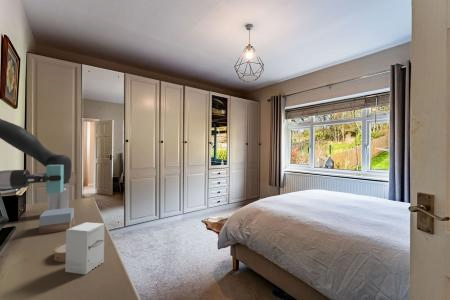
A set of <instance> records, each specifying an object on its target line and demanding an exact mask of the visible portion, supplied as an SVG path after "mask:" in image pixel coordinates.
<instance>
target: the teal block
mask: <svg viewBox="0 0 450 300" xmlns="http://www.w3.org/2000/svg"><path fill="white" fill-rule="evenodd" d="M45 168H46V169H45V170H46V171H45V173H46V176H47V175H49V176H58V175H60V176H61V180H60V181H49V182H45V185H46V186H45V187H46V188H45V189H46V190H45V193H46V194H47V195H48V194H51V193H61V192H63V182H64V165H48V166H46V167H45Z"/></svg>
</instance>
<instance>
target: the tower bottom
mask: <svg viewBox="0 0 450 300" xmlns="http://www.w3.org/2000/svg"><path fill="white" fill-rule="evenodd" d="M75 223H76V215H74V216H73V218H72V221H71V222H67V223H59V224H51V225H43V226H39V225H38V234H39V235H40V234H46V233H49V234H50V233H57V232H65V231H66V230H67V229H70V228H72V227H74V226H75Z"/></svg>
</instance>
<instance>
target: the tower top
mask: <svg viewBox="0 0 450 300" xmlns="http://www.w3.org/2000/svg"><path fill="white" fill-rule="evenodd" d="M73 216H75V207H69V208H65V209H54V210H48V209H47V210H45V211H43V212H42V214H41V215H40V216H39V225H38V227H39V226H43V225H51V224H59V223H67V222H71V221H72V218H73Z"/></svg>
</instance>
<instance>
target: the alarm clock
mask: <svg viewBox="0 0 450 300" xmlns="http://www.w3.org/2000/svg"><path fill="white" fill-rule="evenodd" d="M104 243H105V240H104ZM52 252H53V256H54V258H53V260H54V261H56V262H58V263H66V241H64V242H62V243H60V244H58V245H57V246H55V248H53V251H52Z"/></svg>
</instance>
